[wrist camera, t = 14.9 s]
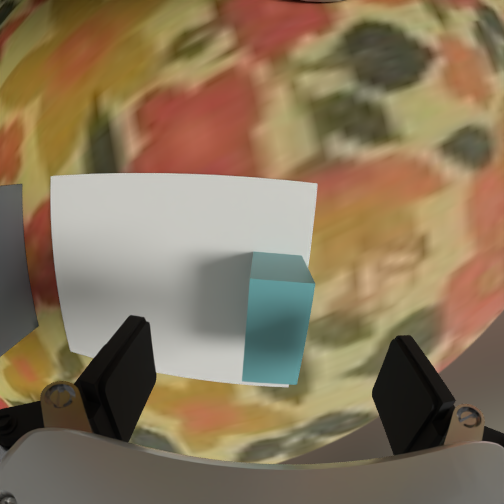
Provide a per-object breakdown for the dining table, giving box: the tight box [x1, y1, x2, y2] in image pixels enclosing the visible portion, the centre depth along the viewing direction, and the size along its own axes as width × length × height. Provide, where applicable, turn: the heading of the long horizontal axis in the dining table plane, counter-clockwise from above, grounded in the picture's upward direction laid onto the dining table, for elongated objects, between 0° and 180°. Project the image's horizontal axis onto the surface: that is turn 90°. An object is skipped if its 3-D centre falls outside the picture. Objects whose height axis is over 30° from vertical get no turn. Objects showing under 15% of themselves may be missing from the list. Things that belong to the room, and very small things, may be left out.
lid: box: [51, 173, 317, 387], centre depth 17 cm, size 15×19×7 cm
